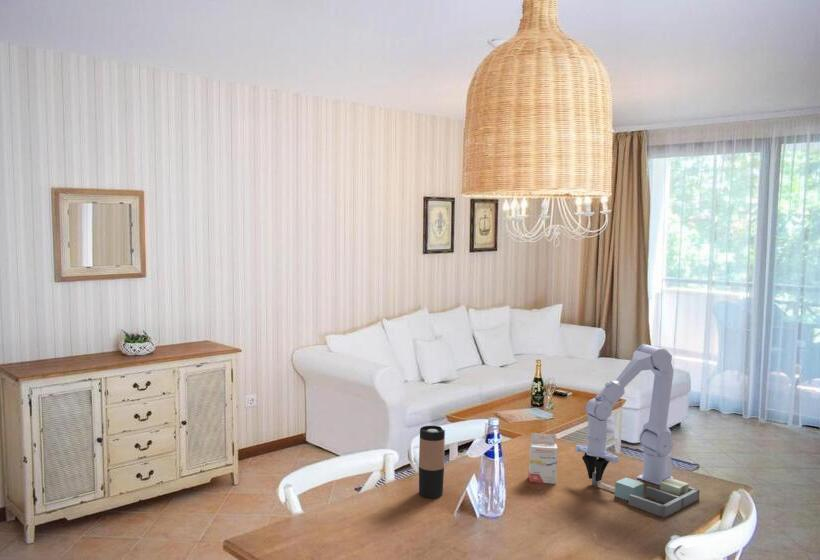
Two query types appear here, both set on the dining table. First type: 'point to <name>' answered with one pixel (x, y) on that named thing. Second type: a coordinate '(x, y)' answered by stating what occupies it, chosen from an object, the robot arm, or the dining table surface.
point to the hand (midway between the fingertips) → (595, 479)
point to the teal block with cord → (623, 487)
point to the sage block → (674, 486)
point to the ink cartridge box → (543, 459)
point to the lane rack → (670, 499)
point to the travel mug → (431, 461)
